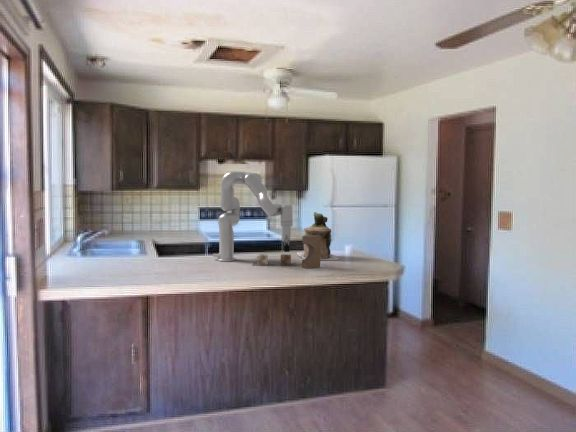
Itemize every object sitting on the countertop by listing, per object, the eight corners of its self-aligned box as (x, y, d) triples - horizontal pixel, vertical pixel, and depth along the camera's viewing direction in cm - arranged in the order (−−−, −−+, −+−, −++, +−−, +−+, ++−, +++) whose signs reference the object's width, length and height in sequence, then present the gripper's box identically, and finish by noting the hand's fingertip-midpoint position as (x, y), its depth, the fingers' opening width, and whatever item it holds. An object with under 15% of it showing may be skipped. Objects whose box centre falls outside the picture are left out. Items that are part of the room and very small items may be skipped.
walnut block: (280, 265, 314) (280, 256, 314) (280, 263, 321) (280, 254, 320) (290, 265, 314) (291, 256, 314) (290, 263, 321) (290, 254, 320)
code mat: (251, 266, 312) (251, 265, 312) (253, 262, 324) (253, 262, 324) (296, 266, 312) (296, 266, 312) (295, 263, 324) (295, 262, 324)
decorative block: (307, 268, 305) (307, 236, 303) (301, 267, 310) (301, 235, 308) (320, 267, 312) (321, 235, 310) (315, 265, 316) (315, 234, 315)
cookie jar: (305, 261, 331) (305, 214, 328) (296, 255, 355) (296, 211, 352) (340, 260, 336) (341, 213, 334) (328, 254, 360) (329, 210, 357)
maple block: (257, 265, 314) (257, 255, 314) (257, 263, 321) (257, 254, 320) (267, 265, 314) (267, 255, 314) (267, 263, 321) (267, 254, 320)
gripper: (280, 222, 324) (281, 248, 325) (280, 225, 307) (280, 252, 308) (292, 222, 324) (292, 248, 325) (292, 225, 307) (292, 252, 308)
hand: (286, 250), depth 317 cm, fingers open, 9 cm apart
